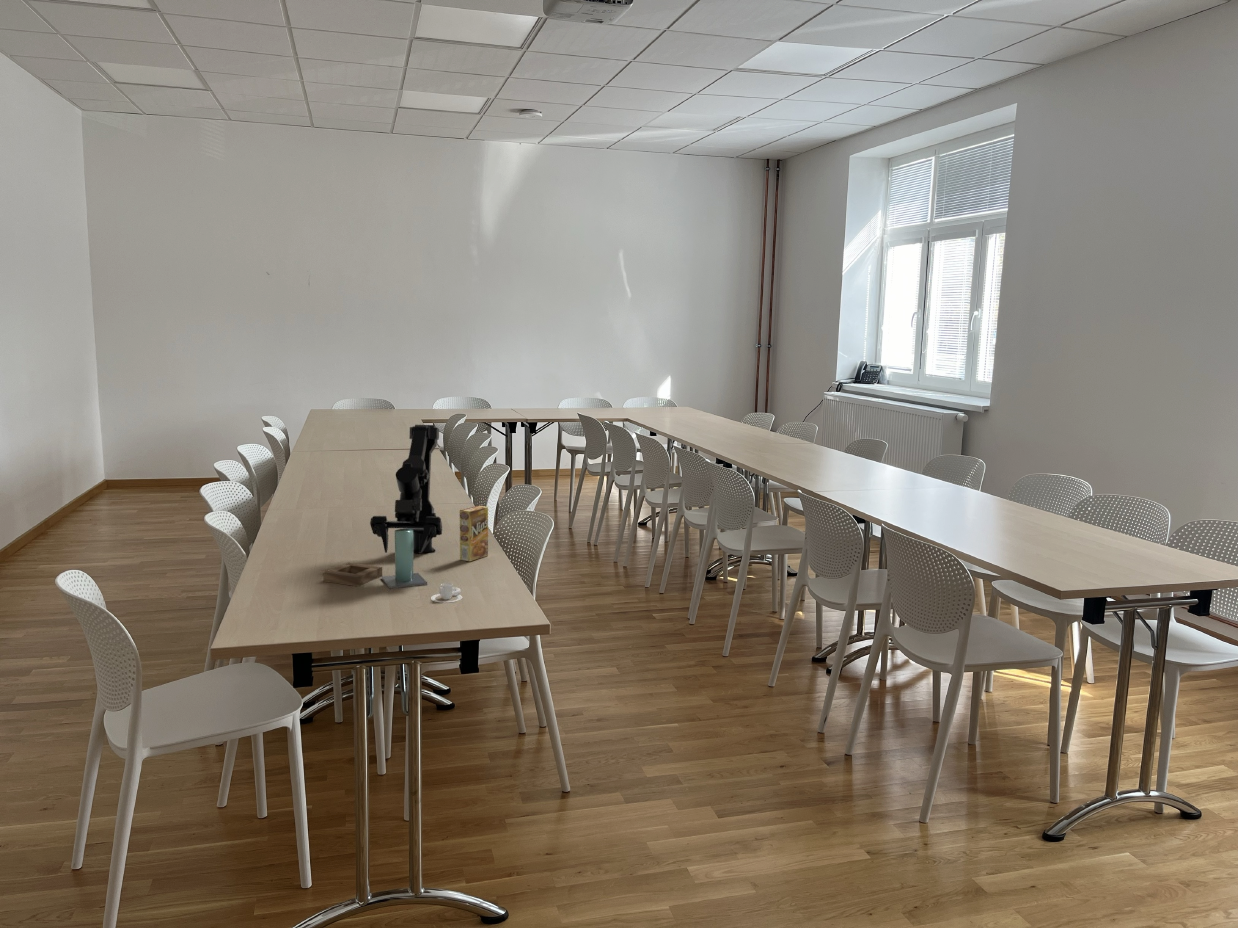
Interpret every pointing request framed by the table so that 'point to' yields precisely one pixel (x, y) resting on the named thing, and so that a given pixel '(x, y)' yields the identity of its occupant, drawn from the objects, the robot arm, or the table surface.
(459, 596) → the teacup and saucer
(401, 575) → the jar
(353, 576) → the pocket block
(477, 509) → the candy box
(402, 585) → the coaster
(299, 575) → the table surface
